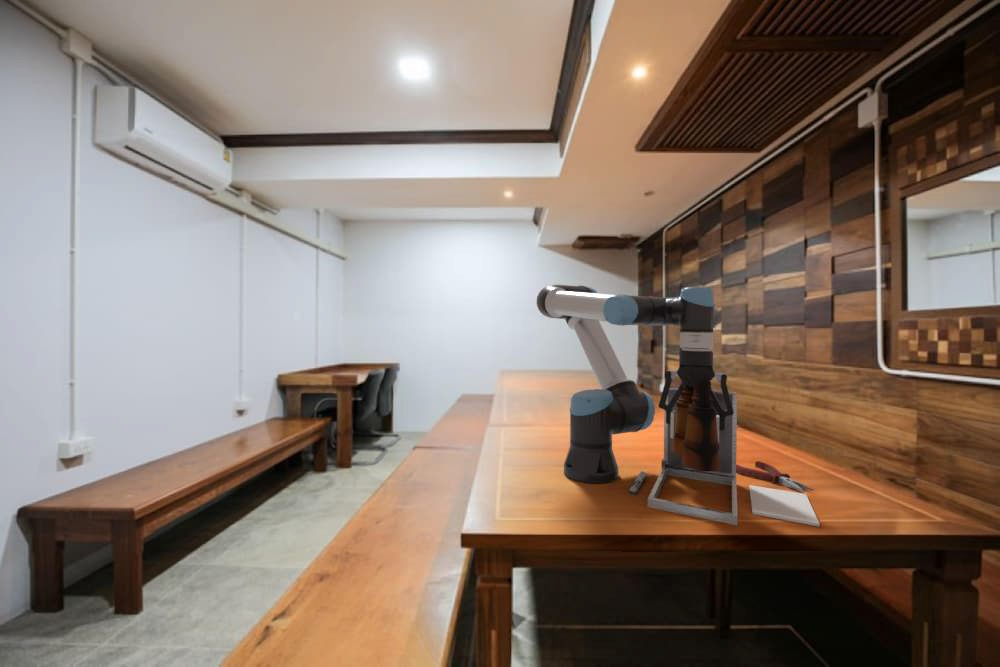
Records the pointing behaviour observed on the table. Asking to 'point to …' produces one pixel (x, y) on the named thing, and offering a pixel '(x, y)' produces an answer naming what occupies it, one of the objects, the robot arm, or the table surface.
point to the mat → (782, 505)
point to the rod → (637, 483)
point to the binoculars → (696, 429)
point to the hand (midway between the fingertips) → (694, 439)
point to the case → (723, 476)
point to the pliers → (771, 476)
